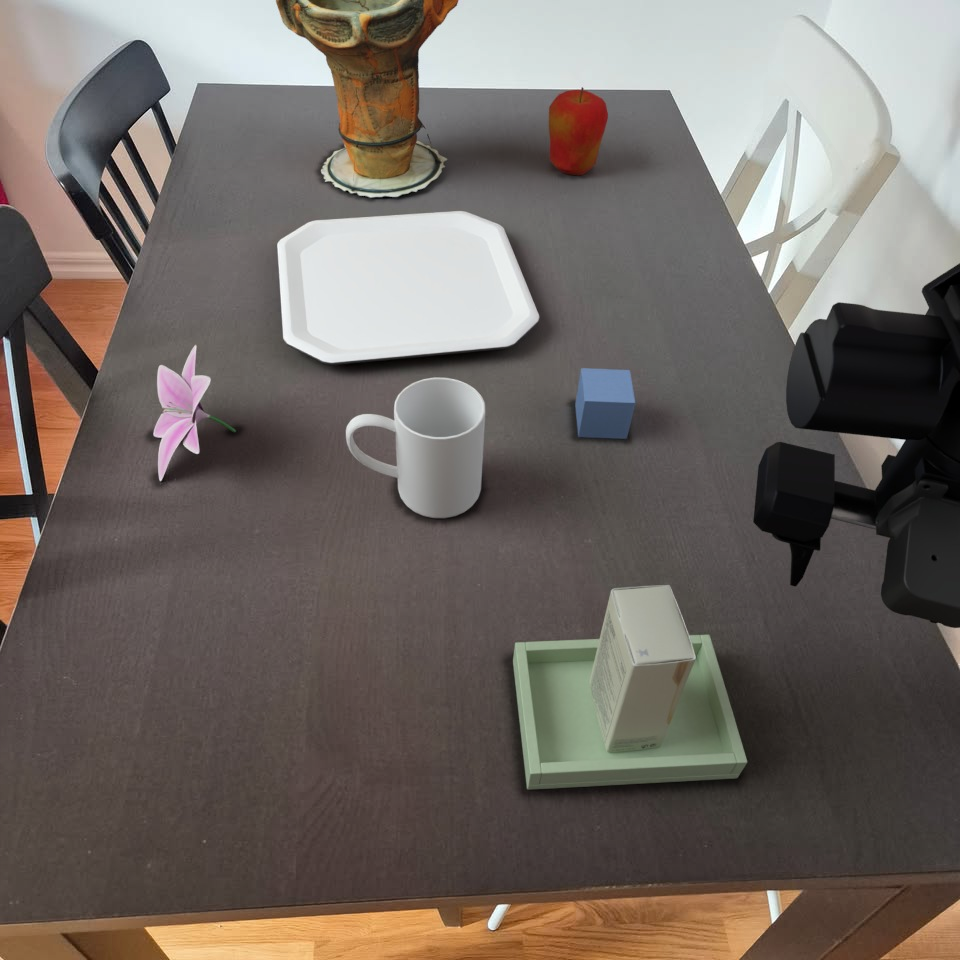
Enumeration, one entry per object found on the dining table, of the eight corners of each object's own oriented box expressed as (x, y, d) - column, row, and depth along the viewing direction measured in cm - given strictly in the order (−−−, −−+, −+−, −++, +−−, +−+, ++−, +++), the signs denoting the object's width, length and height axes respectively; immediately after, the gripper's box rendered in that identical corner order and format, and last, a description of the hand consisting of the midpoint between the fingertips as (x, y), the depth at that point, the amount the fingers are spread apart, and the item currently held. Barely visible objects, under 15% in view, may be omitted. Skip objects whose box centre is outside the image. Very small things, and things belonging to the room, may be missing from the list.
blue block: (622, 406, 88) (630, 369, 85) (626, 439, 85) (635, 402, 81) (575, 404, 88) (581, 367, 85) (578, 437, 85) (584, 400, 81)
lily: (181, 398, 88) (115, 352, 80) (276, 373, 84) (217, 322, 76) (168, 502, 83) (95, 464, 75) (268, 480, 79) (204, 438, 71)
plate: (287, 381, 89) (284, 365, 87) (277, 236, 108) (275, 221, 106) (548, 356, 94) (550, 340, 92) (495, 221, 113) (496, 206, 111)
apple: (535, 157, 126) (543, 76, 117) (587, 152, 127) (599, 72, 119) (554, 185, 120) (563, 102, 112) (608, 179, 122) (621, 98, 113)
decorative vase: (300, 136, 127) (273, -78, 107) (450, 135, 130) (452, -75, 109) (293, 206, 113) (261, -25, 93) (461, 203, 116) (467, -23, 95)
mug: (474, 455, 83) (478, 373, 75) (486, 515, 77) (492, 434, 70) (350, 465, 81) (341, 383, 73) (355, 528, 76) (345, 446, 68)
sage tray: (701, 652, 68) (709, 634, 66) (737, 778, 61) (748, 762, 59) (512, 660, 67) (515, 641, 65) (527, 790, 60) (530, 774, 58)
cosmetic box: (662, 748, 62) (700, 663, 53) (605, 755, 61) (634, 670, 52) (639, 671, 66) (672, 581, 57) (586, 677, 65) (610, 586, 56)
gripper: (795, 496, 41) (712, 660, 53) (1206, 598, 38) (1023, 747, 50) (801, 361, 49) (727, 530, 60) (1146, 438, 46) (1000, 600, 57)
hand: (861, 599), depth 57 cm, fingers open, 9 cm apart
